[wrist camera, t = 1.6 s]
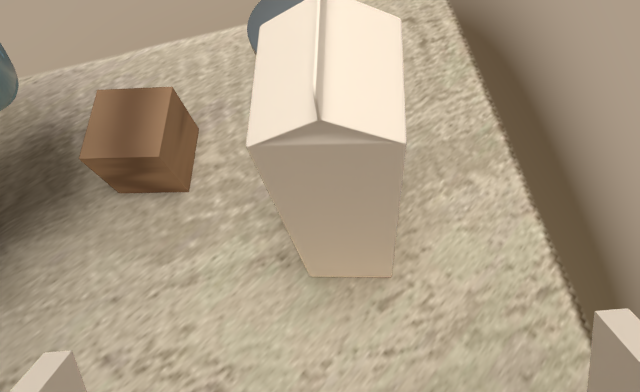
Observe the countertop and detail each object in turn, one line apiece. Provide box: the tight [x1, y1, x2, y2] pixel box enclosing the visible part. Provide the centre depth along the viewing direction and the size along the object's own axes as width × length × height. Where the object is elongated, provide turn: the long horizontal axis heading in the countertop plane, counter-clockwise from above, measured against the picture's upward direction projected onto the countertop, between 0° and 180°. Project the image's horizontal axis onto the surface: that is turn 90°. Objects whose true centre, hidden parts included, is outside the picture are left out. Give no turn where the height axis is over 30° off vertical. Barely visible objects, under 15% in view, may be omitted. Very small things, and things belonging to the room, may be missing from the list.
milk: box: [246, 0, 407, 277], centre depth 26 cm, size 6×6×22 cm
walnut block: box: [79, 87, 199, 193], centre depth 38 cm, size 6×6×6 cm
